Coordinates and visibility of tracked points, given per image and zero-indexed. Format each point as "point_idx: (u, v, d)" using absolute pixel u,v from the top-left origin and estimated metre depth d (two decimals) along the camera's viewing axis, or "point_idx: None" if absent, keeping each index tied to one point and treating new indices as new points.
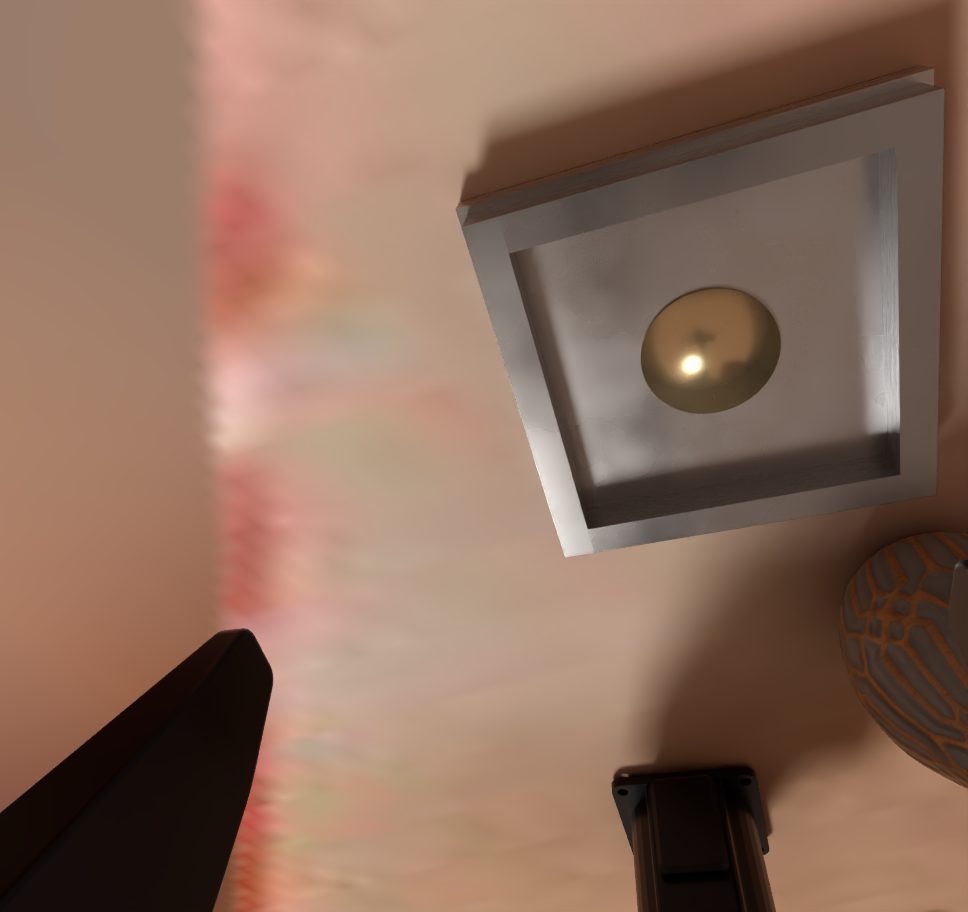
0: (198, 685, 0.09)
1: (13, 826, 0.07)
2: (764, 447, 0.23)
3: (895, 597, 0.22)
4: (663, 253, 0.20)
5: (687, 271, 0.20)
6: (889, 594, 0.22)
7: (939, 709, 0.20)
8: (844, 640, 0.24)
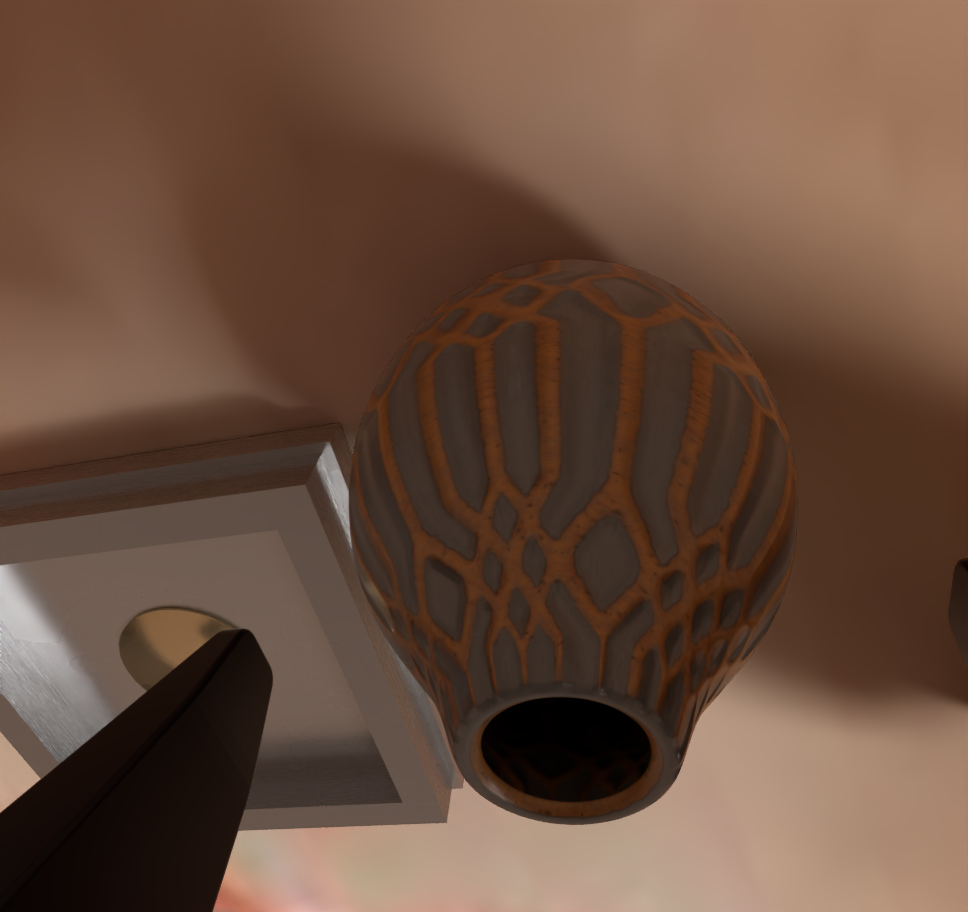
0: (198, 685, 0.09)
1: (13, 826, 0.07)
2: (305, 616, 0.18)
3: None
4: (102, 691, 0.20)
5: (113, 675, 0.20)
6: None
7: None
8: None
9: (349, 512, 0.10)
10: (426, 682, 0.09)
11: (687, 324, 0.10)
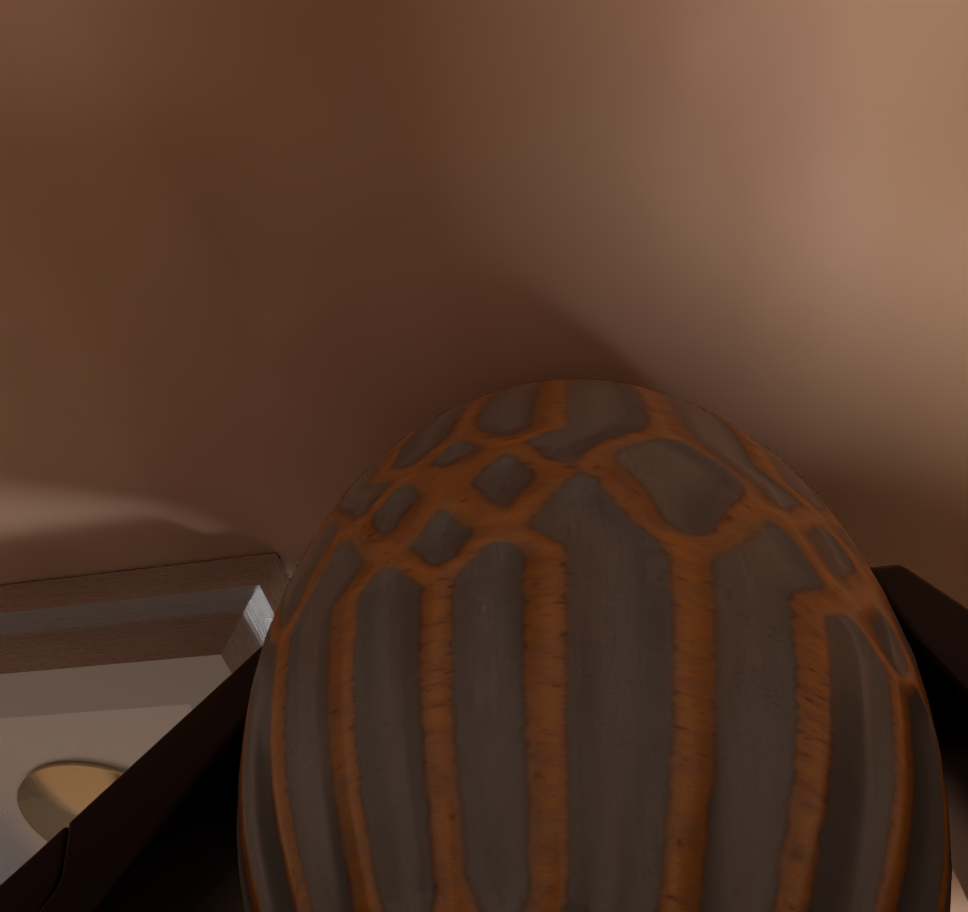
0: None
1: (100, 823, 0.07)
2: None
3: None
4: (4, 844, 0.17)
5: (15, 829, 0.16)
6: None
7: None
8: None
9: None
10: None
11: (774, 536, 0.06)
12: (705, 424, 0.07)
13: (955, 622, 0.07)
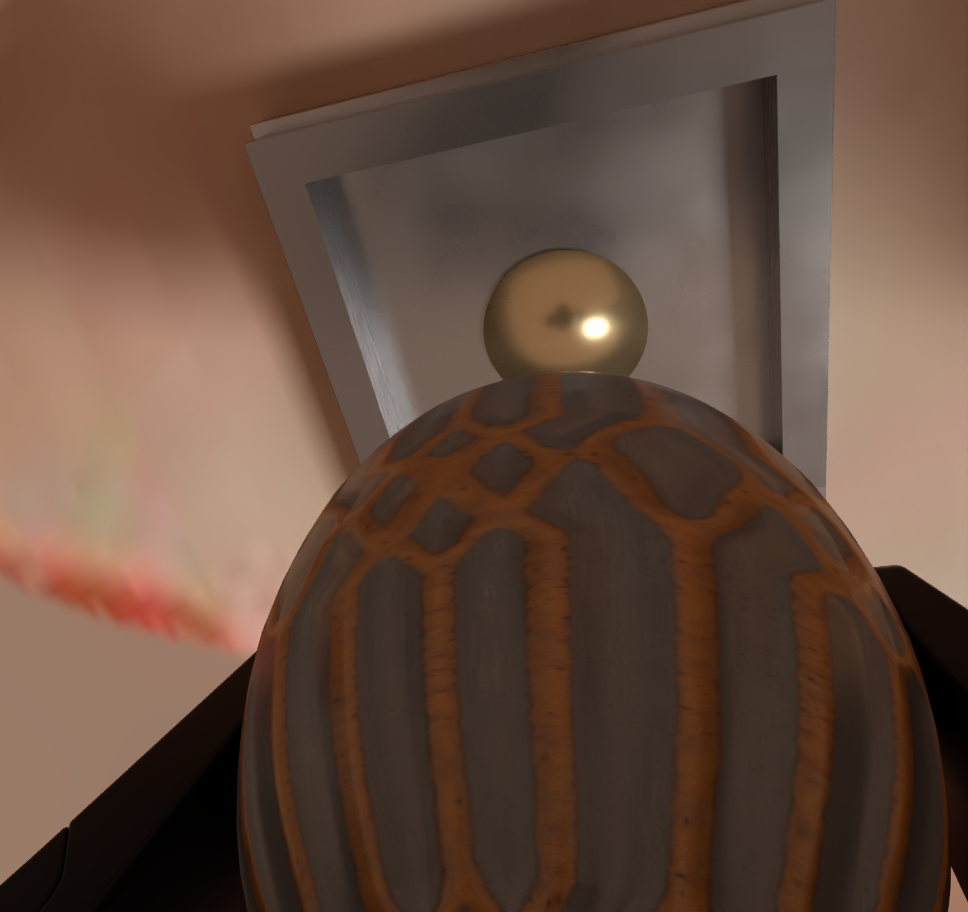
0: None
1: (101, 823, 0.07)
2: (716, 253, 0.16)
3: None
4: (443, 381, 0.19)
5: (463, 357, 0.18)
6: None
7: None
8: None
9: None
10: None
11: (772, 520, 0.06)
12: (700, 412, 0.07)
13: (954, 623, 0.07)
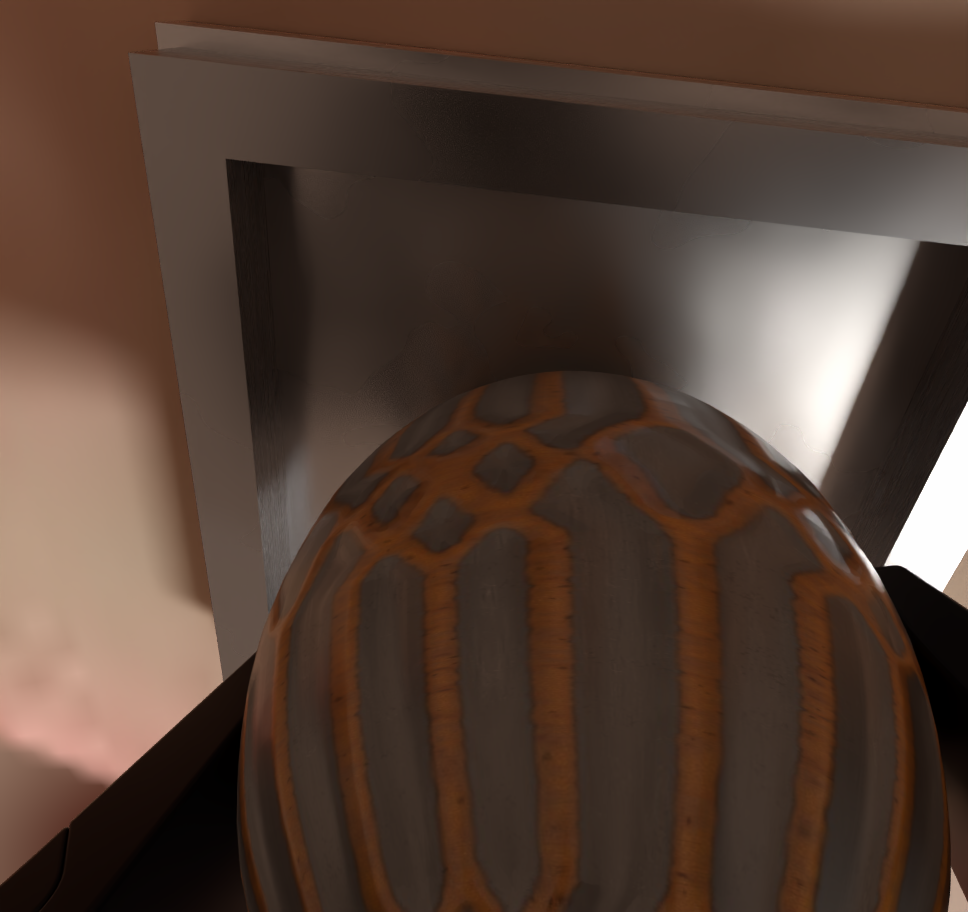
0: None
1: (100, 823, 0.07)
2: (813, 449, 0.11)
3: None
4: None
5: None
6: None
7: None
8: None
9: (238, 789, 0.07)
10: None
11: (774, 519, 0.06)
12: (701, 412, 0.07)
13: (954, 622, 0.07)
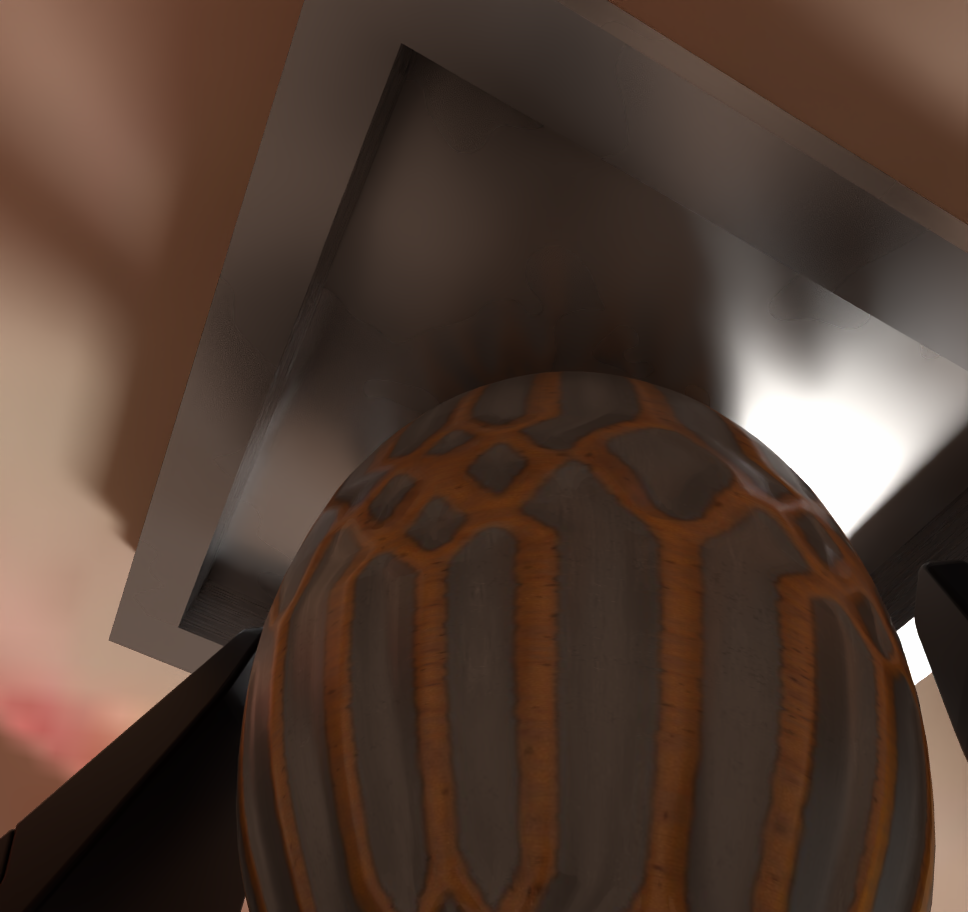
0: (226, 683, 0.09)
1: (46, 825, 0.07)
2: None
3: None
4: (361, 452, 0.11)
5: None
6: None
7: None
8: None
9: None
10: None
11: (762, 521, 0.06)
12: (697, 414, 0.07)
13: None
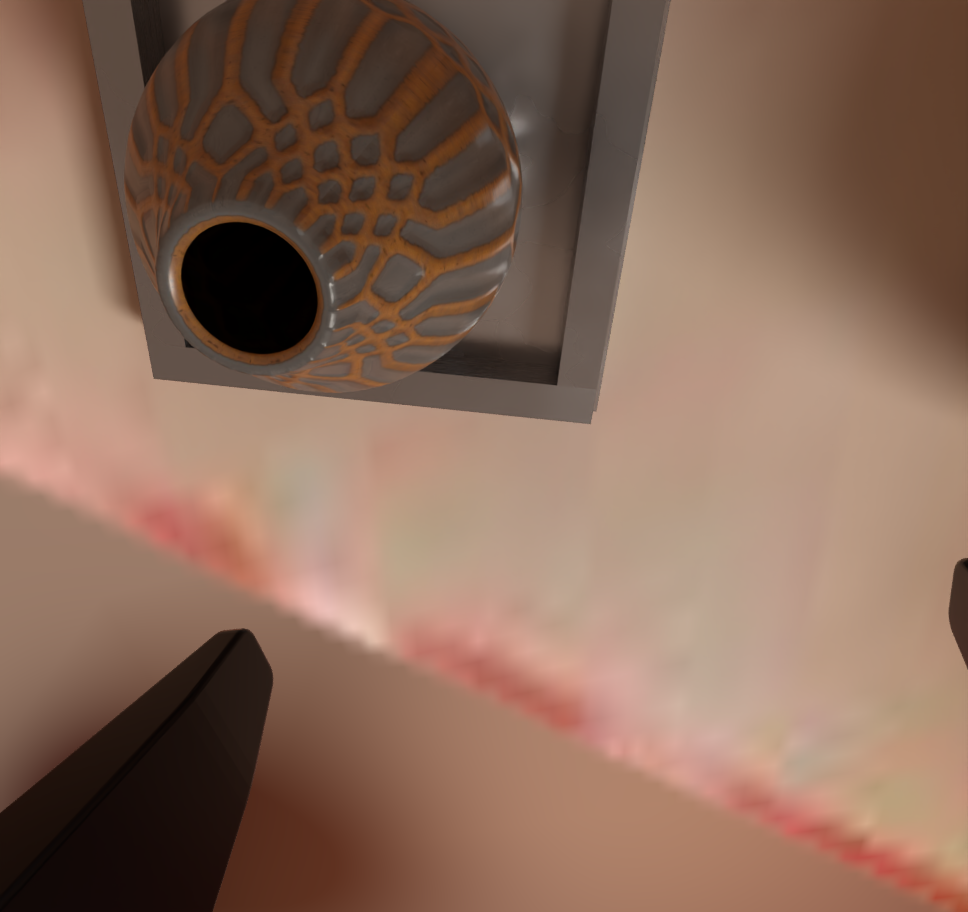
0: (198, 685, 0.09)
1: (13, 826, 0.07)
2: (542, 115, 0.16)
3: None
4: None
5: None
6: None
7: (311, 384, 0.12)
8: None
9: None
10: None
11: None
12: None
13: None
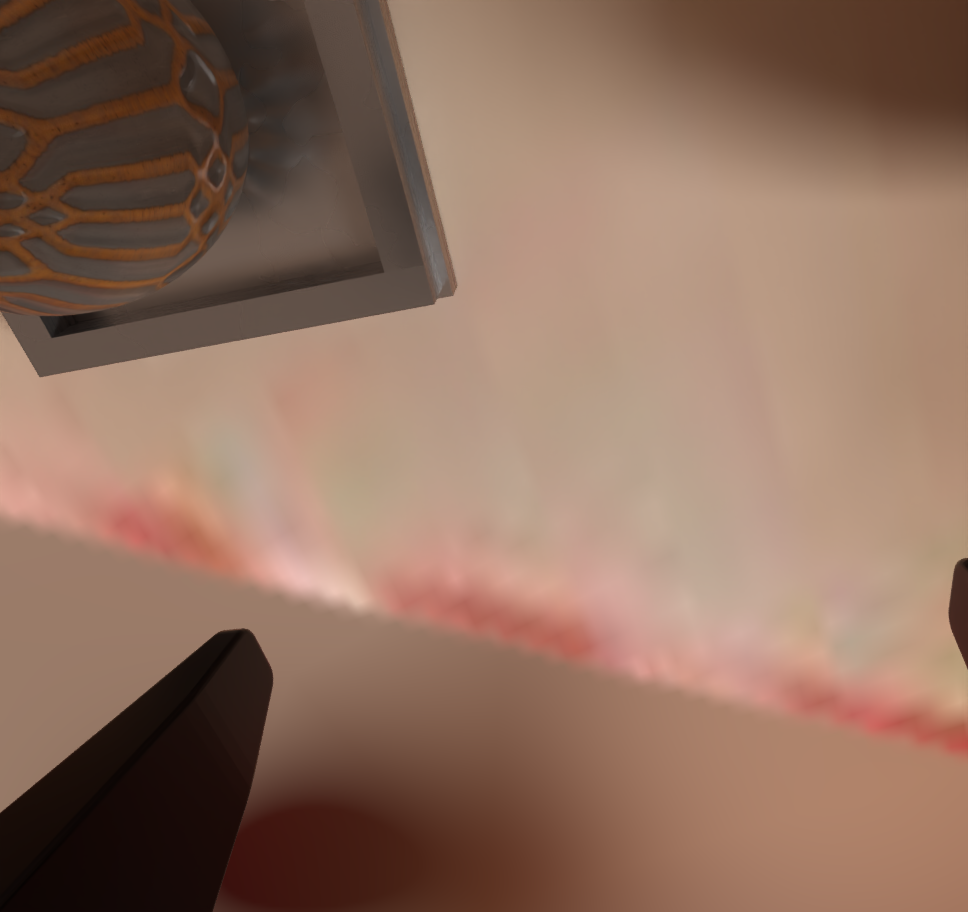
0: (198, 685, 0.09)
1: (13, 826, 0.07)
2: (271, 0, 0.16)
3: None
4: None
5: None
6: None
7: (29, 297, 0.13)
8: None
9: None
10: None
11: None
12: None
13: None
